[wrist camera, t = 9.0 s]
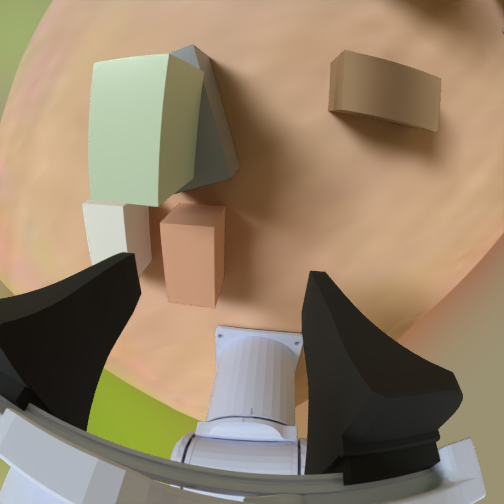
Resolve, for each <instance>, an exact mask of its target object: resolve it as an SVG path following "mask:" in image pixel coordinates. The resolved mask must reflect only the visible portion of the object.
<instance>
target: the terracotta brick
mask: <svg viewBox="0 0 504 504" xmlns="http://www.w3.org/2000/svg"><path fill="white" fill-rule="evenodd" d="M160 234H161V245H162V255H163V265H164V274H165V282H166V290H167V297H168V302H170V303H177V304H184V305H191V306H199V307H207V308H215V307H216V303H217V300H218V297H219V293H220V290H221V287H222V283H223V280H224V251H225V206H219V205H204V204H188V203H179V204H178V205H177V206H176V207H175V208H174V209H173V210H172V211H171V212H170V213H169V214H168V215H167V216H166V217H165V218H164V219H163V220H162V221H161V222H160Z"/></svg>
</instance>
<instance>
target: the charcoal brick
mask: <svg viewBox="0 0 504 504" xmlns="http://www.w3.org/2000/svg"><path fill="white" fill-rule="evenodd" d="M169 54H171V55H173V56H175V57H177V58H179V59H181V60H183V61H185V62H187V63H189V64H191V65H193V66H195V67H196V68H198V69H200V70H202V71H204V78H203V85H202V93H201V102H200V111H199V120H198V130H197V141H196V153H195V166H194V178H193V179H192V180H191V181H189V182H188V183H187V184H186V185H184V186H183V187H182V188H181V189H179V190H178V191H177V192H176V193H180V192H183V191H187V190H190V189H194V188H198V187H201V186H205V185H209V184H213V183H217V182H220V181H224V180H228V179H231V178H232V177H233V176H234V174H235V173H236V171H237V170H238V169H239V167H240V164H239V161H238V157H237V153H236V150H235V146H234V143H233V139H232V135H231V132H230V128H229V125H228V121H227V118H226V114H225V110H224V107H223V103H222V100H221V96H220V93H219V89H218V86H217V82H216V79H215V75H214V72H213V68H212V65H211V61H210V58H209V56H207V55H206V54H205V53H203V52H202V51H201V50H200V49H198V48H197V47H196V46H194V45H190V46H187V47H184V48H182V49H179V50H176V51H174V52H171V53H169ZM176 193H174V194H176Z"/></svg>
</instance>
